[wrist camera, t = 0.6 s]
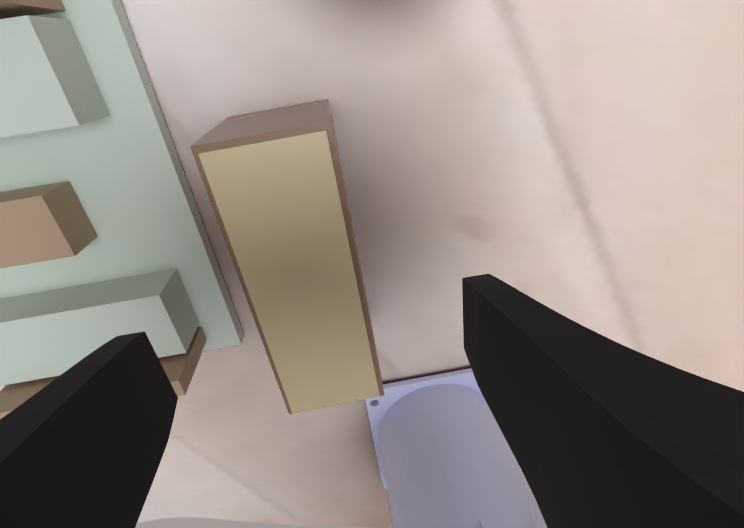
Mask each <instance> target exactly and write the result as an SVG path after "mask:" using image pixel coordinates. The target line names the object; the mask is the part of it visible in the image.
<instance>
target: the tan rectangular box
mask: <svg viewBox="0 0 744 528" xmlns="http://www.w3.org/2000/svg"><path fill="white" fill-rule="evenodd" d="M191 149H192V152H193V155H194V157H195V160H196V163H197V165H198V168H199V171H200V174H201V176H202V179H203V182H204V184H205V187H206V190H207V193H208V195H209V198H210V201H211V203H212V206H213V209H214V212H215V214H216V217H217V220H218V222H219V225H220V228H221V231H222V233H223V236H224V239H225V241H226V244H227V247H228V250H229V252H230V255H231V258H232V260H233V263H234V266H235V268H236V271H237V274H238V277H239V279H240V282H241V285H242V287H243V290H244V293H245V296H246V298H247V301H248V304H249V306H250V309H251V312H252V315H253V317H254V320H255V323H256V325H257V328H258V331H259V334H260V336H261V339H262V342H263V344H264V347H265V350H266V353H267V355H268V358H269V361H270V363H271V366H272V369H273V372H274V374H275V377H276V380H277V382H278V385H279V388H280V390H281V393H282V396H283V399H284V401H285V404H286V407H287V409H288V412H289V414H295V413H300V412H305V411H310V410H315V409H320V408H325V407H330V406H335V405H340V404H345V403H350V402H355V401H360V400H365V399H370V398H375V397H380V396H384V389H383V384H382V379H381V373H380V368H379V362H378V357H377V351H376V346H375V341H374V335H373V330H372V324H371V319H370V314H369V309H368V303H367V298H366V293H365V288H364V283H363V277H362V272H361V267H360V262H359V257H358V251H357V246H356V241H355V236H354V231H353V226H352V220H351V215H350V210H349V205H348V200H347V194H346V189H345V184H344V179H343V174H342V168H341V163H340V158H339V153H338V148H337V143H336V137H335V132H334V127H333V122H332V117H331V111H330V106H329V101H328V99H327V100H321V101H316V102H310V103H304V104H299V105H293V106H288V107H282V108H276V109H271V110H265V111H260V112H254V113H249V114H243V115H237V116H232V117H228V118H227V119H226V120H224V121H223V122H222V123H220V124H219V125H218V126H216V127H215V128H214V129H212V130H211V131H210V132H209V133H207V134H206V135H205V136H203V137H202V138H201V139H199V140H198V141H197V142H195V143H194V144H193V145H192V146H191Z"/></svg>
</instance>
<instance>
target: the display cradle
mask: <svg viewBox="0 0 744 528" xmlns="http://www.w3.org/2000/svg"><path fill="white" fill-rule="evenodd" d="M144 331H145V333H146V335H147V337H148V339H149V341H150V343H151V345H152V347H153V349H154V351H155V353H156V355H157V357H158V359H159V361H160V363H161V365H162V367H163V369H164V371H165V373H166V375H167V377H168V379H169V381H170V383H171V385H172V387H173V389H174V391H175V393H176V395H177V396H180V395H185V394H186V392H187V389H188V387H189V384H190V381H191V379H192V376H193V374H194V371H195V369H196V366H197V363H198V361H199V358H200V356H201V353H202V352H204V351H209V350H215V349H221V348H226V347H232V346H237V345H241V344H242V341H243V337H244V333H243V331H242V328H241V325H240V322H239V320H238V317H237V314H236V312H235V309H234V306H233V303H232V301H231V298H230V295H229V293H228V290H227V287H226V285H225V282H224V279H223V276H222V274H221V271H220V268H219V266H218V263H217V260H216V257H215V255H214V252H213V249H212V247H211V244H210V241H209V238H208V236H207V233H206V230H205V228H204V225H203V222H202V219H201V217H200V214H199V211H198V209H197V206H196V203H195V200H194V198H193V195H192V192H191V190H190V187H189V184H188V181H187V179H186V176H185V173H184V171H183V168H182V165H181V162H180V160H179V157H178V154H177V152H176V149H175V146H174V143H173V141H172V138H171V135H170V133H169V130H168V127H167V124H166V122H165V119H164V116H163V114H162V111H161V108H160V105H159V103H158V100H157V97H156V95H155V92H154V89H153V86H152V84H151V81H150V78H149V76H148V73H147V70H146V67H145V65H144V62H143V59H142V57H141V54H140V51H139V48H138V46H137V43H136V40H135V38H134V35H133V32H132V29H131V27H130V24H129V21H128V19H127V16H126V13H125V10H124V8H123V5H122V2H121V0H0V386H4V385H6V386H5V387H4V388H3V389H2V390H1V391H0V419H1V418H3V417H4V416H6V415H7V414H8V413H10V412H11V411H13V410H14V409H15V408H17V407H18V406H20V405H21V404H22V403H24V402H25V401H26V400H28V399H29V398H30V397H32V396H33V395H34V394H36V393H37V392H39V391H40V390H41V389H43V388H44V387H45V386H47V385H48V384H49V383H51V382H52V381H53V380H55V379H56V378H57V377H59V376H60V375H62V374H63V373H64V372H66V371H67V370H68V369H70V368H71V367H72V366H74V365H75V364H76V363H78V362H79V361H81V360H82V359H83V358H85V357H86V356H87V355H89V354H90V353H92V352H93V351H95V350H96V349H97V348H99V347H100V346H102V345H103V344H105V343H106V342H108V341H110V340H111V339H113V338H115V337H116V336H120V335H126V334H132V333H138V332H144Z"/></svg>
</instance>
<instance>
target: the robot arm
mask: <svg viewBox="0 0 744 528" xmlns="http://www.w3.org/2000/svg"><path fill="white" fill-rule="evenodd" d="M462 280H463V327H464V349H465V352H466V355H467V358H468V360H469V363H470V366H471V368H469V369H464V370H458V371H453V372H447V373H442V374H437V375H431V376H426V377H420V378H415V379H410V380H404V381H399V382H393V383H388V384H383V389H384V396H380V397H375V398H370V399H365V402H366V407H367V412H368V417H369V422H370V427H371V432H372V437H373V442H374V447H375V451H376V456H377V461H378V466H379V471H380V476H381V481H382V486H383V488H385V489H387V492H388V499H389V506H390V512H391V519H392V525H393V528H744V392H742V391H739V390H736V389H734V388H731V387H728V386H725V385H722V384H719V383H716V382H713V381H710V380H707V379H705V378H702V377H699V376H697V375H694V374H691V373H689V372H686V371H683V370H681V369H678V368H676V367H673V366H671V365H668V364H666V363H663V362H661V361H659V360H656V359H654V358H651V357H649V356H646V355H644V354H641V353H639V352H637V351H634V350H632V349H630V348H628V347H625V346H623V345H621V344H619V343H617V342H614V341H612V340H610V339H608V338H606V337H604V336H602V335H600V334H598V333H596V332H594V331H592V330H590V329H588V328H586V327H584V326H582V325H580V324H578V323H576V322H574V321H572V320H570V319H568V318H566V317H565V316H563V315H561V314H559V313H557V312H555V311H554V310H552V309H550V308H548V307H546V306H545V305H543V304H541V303H539V302H538V301H536V300H534V299H532V298H531V297H529V296H527V295H525V294H524V293H522V292H520V291H519V290H517V289H515V288H513V287H512V286H510V285H508V284H507V283H505V282H503V281H501V280H499V279H498V278H496V277H494V276H492V275H490V274H484V275H478V276H472V277H466V278H462ZM177 399H178V397H177V395H176V393H175V391H174V389H173V387H172V385H171V383H170V381H169V379H168V377H167V375H166V373H165V371H164V369H163V367H162V365H161V363H160V361H159V359H158V357H157V355H156V353H155V351H154V349H153V347H152V345H151V343H150V341H149V339H148V337H147V335H146V333H145V331H144V332H138V333H132V334H126V335H120V336H116V337H115V338H113V339H111V340H110V341H108V342H106V343H105V344H103V345H102V346H100V347H99V348H97V349H96V350H95V351H93V352H92V353H90V354H89V355H87V356H86V357H85V358H83V359H82V360H81V361H79V362H78V363H76V364H75V365H74V366H72V367H71V368H70V369H68V370H67V371H66V372H64V373H63V374H62V375H60V376H59V377H57V378H56V379H55V380H53V381H52V382H51V383H49V384H48V385H47V386H45V387H44V388H43V389H41V390H40V391H39V392H37V393H36V394H34V395H33V396H32V397H30V398H29V399H28V400H26V401H25V402H24V403H22V404H21V405H20V406H18V407H17V408H15V409H14V410H13V411H11V412H10V413H8V414H7V415H6V416H4V417H3V418H1V419H0V528H135V526H136V523H137V521H138V518H139V516H140V513H141V511H142V508H143V505H144V503H145V500H146V498H147V495H148V492H149V490H150V487H151V485H152V482H153V480H154V477H155V474H156V472H157V469H158V466H159V464H160V461H161V458H162V456H163V453H164V450H165V447H166V445H167V442H168V438H169V434H170V430H171V426H172V423H173V418H174V413H175V409H176V404H177ZM373 400H376V401H373ZM518 464H519V465H518ZM519 466H520V467H519ZM520 468H521V469H520ZM521 470H522V471H521ZM522 472H523V473H522ZM523 474H524V475H523ZM524 476H525V477H524ZM525 478H526V479H525ZM526 480H527V481H526ZM527 482H528V484H529V486H530V488H531V490H532V492H531V490H530V488H529V486H528V484H527ZM532 493H533V494H532ZM533 495H534V496H533ZM534 497H535V498H534ZM535 499H536V500H535ZM537 504H538V505H537ZM538 506H539V507H538Z"/></svg>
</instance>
